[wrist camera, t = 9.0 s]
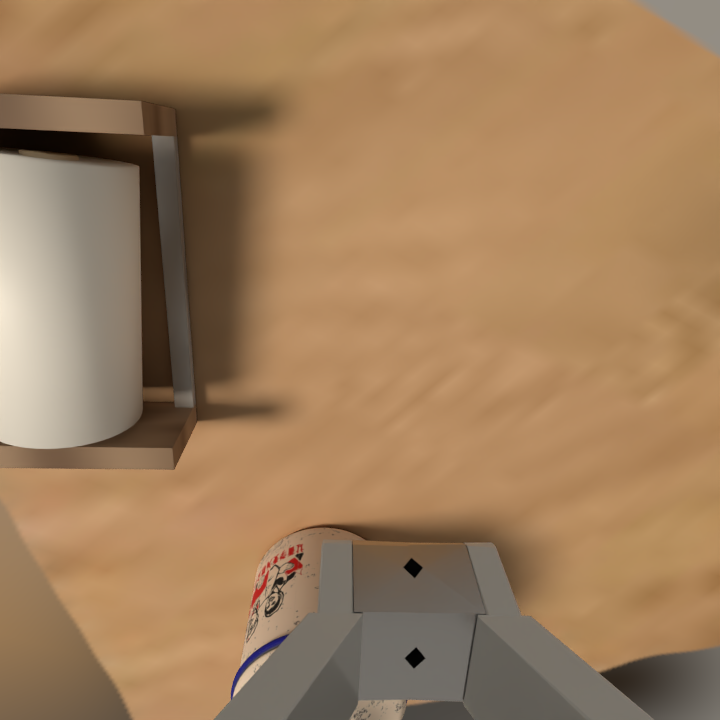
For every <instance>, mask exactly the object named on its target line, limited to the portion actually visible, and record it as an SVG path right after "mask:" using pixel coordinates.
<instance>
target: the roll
mask: <svg viewBox="0 0 720 720" xmlns="http://www.w3.org/2000/svg"><path fill="white" fill-rule="evenodd" d="M142 411H143V387H142V317H141V247H140V178H139V166H138V165H135V164H131V163H127V162H122V161H116V160H110V159H104V158H97V157H89V156H81V155H74V154H66V153H57V152H48V151H38V150H27V149H15V148H1V147H0V442H3V443H5V444H9V445H13V446H18V447H24V448H34V449H59V448H69V447H76V446H83V445H87V444H92V443H96V442H99V441H103V440H106V439H108V438H111V437H114V436H116V435H118V434H120V433H122V432H124V431H126V430H127V429H129V428H130V427H132V426H133V425H134V424H135V423H136V422H137V421H138V420H139V419H140V417H141V415H142Z"/></svg>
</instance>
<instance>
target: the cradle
mask: <svg viewBox="0 0 720 720" xmlns="http://www.w3.org/2000/svg"><path fill="white" fill-rule="evenodd" d="M0 128H7V129H28V130H49V131H69V132H90V133H111V134H132V135H152V144H153V156H154V167H155V179H156V191H157V202H158V214H159V226H160V237H161V249H162V261H163V273H164V284H165V296H166V308H167V319H168V331H169V343H170V354H171V366H172V378H173V389H174V401H175V403H168V402H143V411H142V415H141V417H140V419H139V420H138V421H137V422H136V423H135V424H134V425H133V426H132V427H130V428H129V429H127V430H126V431H124V432H122V433H120V434H118V435H116V436H114V437H111V438H108V439H106V440H103V441H99V442H96V443H92V444H87V445H83V446H76V447H69V448H59V449H34V448H24V447H18V446H13V445H9V444H5V443H3V442H0V468H64V469H165V470H174V469H175V467H176V465H177V463H178V461H179V459H180V457H181V454H182V452H183V450H184V448H185V446H186V444H187V442H188V440H189V438H190V436H191V434H192V431H193V429H194V427H195V425H196V423H197V413H196V399H195V385H194V370H193V356H192V342H191V328H190V313H189V299H188V285H187V271H186V256H185V242H184V228H183V214H182V199H181V185H180V171H179V157H178V142H177V128H176V114H175V109H173V108H169V107H165V106H160V105H156V104H152V103H147V102H143V101H131V100H112V99H93V98H73V97H54V96H35V95H15V94H0Z"/></svg>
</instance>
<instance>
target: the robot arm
mask: <svg viewBox="0 0 720 720" xmlns="http://www.w3.org/2000/svg"><path fill="white" fill-rule="evenodd" d="M410 699H411V700H435V701H462V702H464V703H463V705H464V706H465V707H466V709H467V710H468V711H469V713H470V714H471V715H472V717H473V718H474V719H475V720H654V719H653V718H651V717H650V716H649V715H648V714H647V713H646V712H644V711H643V710H642V709H641V708H640V707H638V706H637V705H636V704H635V703H634V702H632V701H631V700H630V699H629V698H628V697H626V696H625V695H624V694H623V693H621V692H620V691H619V690H618V689H617V688H616V687H614V686H613V685H612V684H611V683H609V682H608V681H607V680H606V679H605V678H604V677H603V676H601V675H600V674H599V673H598V672H597V671H595V670H594V669H593V668H592V667H591V666H589V665H588V664H587V663H586V662H585V661H584V660H582V659H581V658H580V657H579V656H578V655H576V654H575V653H574V652H573V651H572V650H570V649H569V648H568V647H567V646H566V645H564V644H563V643H562V642H561V641H560V640H559V639H557V638H556V637H555V636H554V635H553V634H551V633H550V632H549V631H548V630H547V629H545V628H544V627H543V626H542V625H541V624H539V623H538V622H537V621H536V620H535V619H533V618H532V617H531V616H522V615H521V613H520V610H519V607H518V605H517V602H516V599H515V597H514V594H513V591H512V588H511V586H510V583H509V580H508V578H507V575H506V572H505V570H504V567H503V564H502V562H501V559H500V556H499V554H498V551H497V548H496V546H495V545H494V544H493V543H492V542H481V543H409V542H388V541H364V540H352V542H351V540H329V539H323V542H322V547H321V563H320V579H319V594H318V610H317V613H308V614H307V615H306V616H305V617H304V618H303V619H302V621H301V622H300V623H299V624H298V625H297V626H296V627H295V628H294V630H293V631H292V632H291V633H290V634H289V635H288V636H287V638H286V639H285V640H284V641H283V642H282V643H281V644H280V645H279V647H278V648H277V649H276V650H275V651H274V652H273V653H272V654H271V656H270V657H269V658H268V659H267V660H266V661H265V662H264V663H263V665H262V666H261V667H260V668H259V669H258V670H257V671H256V672H255V674H254V675H253V676H252V677H251V678H250V679H249V680H248V682H247V683H246V684H245V685H244V686H243V687H242V688H241V689H240V691H239V692H238V693H237V694H236V695H235V696H234V697H233V698H232V700H231V701H230V702H229V703H228V704H227V705H226V706H225V707H224V709H223V710H222V711H221V712H220V713H219V714H218V715H217V716H216V718H215V719H214V720H349V719H350V718H351V716H352V714H353V712H354V710H355V709H356V707H357V705H358V701H363V700H410Z"/></svg>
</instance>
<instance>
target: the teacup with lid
mask: <svg viewBox="0 0 720 720" xmlns="http://www.w3.org/2000/svg"><path fill="white" fill-rule="evenodd" d="M323 539H329V540H351V542H352V540H364V539H363V538H361V537H359V536H358V535H355V534H353V533H351V532H348V531H344V530H341V529H335V528H312V529H306V530H302V531H299V532H296V533H293V534H291V535H288V536H287V537H285V538H283V539H281V540H280V541H278V542H277V543H276V544H275V545H273V546H272V547H271V548H270V549H269V550H268V552H267V553H266V554H265V555H264V557H263V558H262V560H261V562H260V564H259V567H258V569H257V573H256V578H255V584H254V589H253V595H252V601H251V607H250V613H249V619H248V624H247V630H246V636H245V642H244V648H243V654H242V659H241V665H240V668H239V670H238V672H237V674H236V676H235V678H234V681H233V685H232V689H231V700H232V698H233V697H234V696H235V695H236V694H237V693H238V692H239V691H240V689H241V688H242V687H243V686H244V685H245V684H246V683H247V682H248V680H249V679H250V678H251V677H252V676H253V675H254V674H255V672H256V671H257V670H258V669H259V668H260V667H261V666H262V665H263V663H264V662H265V661H266V660H267V659H268V658H269V657H270V656H271V654H272V653H273V652H274V651H275V650H276V649H277V648H278V647H279V645H280V644H281V643H282V642H283V641H284V640H285V639H286V638H287V636H288V635H289V634H290V633H291V632H292V631H293V630H294V628H295V627H296V626H297V625H298V624H299V623H300V622H301V621H302V619H303V618H304V617H305V616H306V615H307V614H308V613H317V610H318V594H319V579H320V563H321V547H322V542H323ZM364 541H366V540H364ZM406 703H407V700H363V701H358V705H357V707H356V709H355V710H354V712H353V714H352V716H351V718H350V719H349V720H402V717H403V715H404V712H405V708H406Z"/></svg>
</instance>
